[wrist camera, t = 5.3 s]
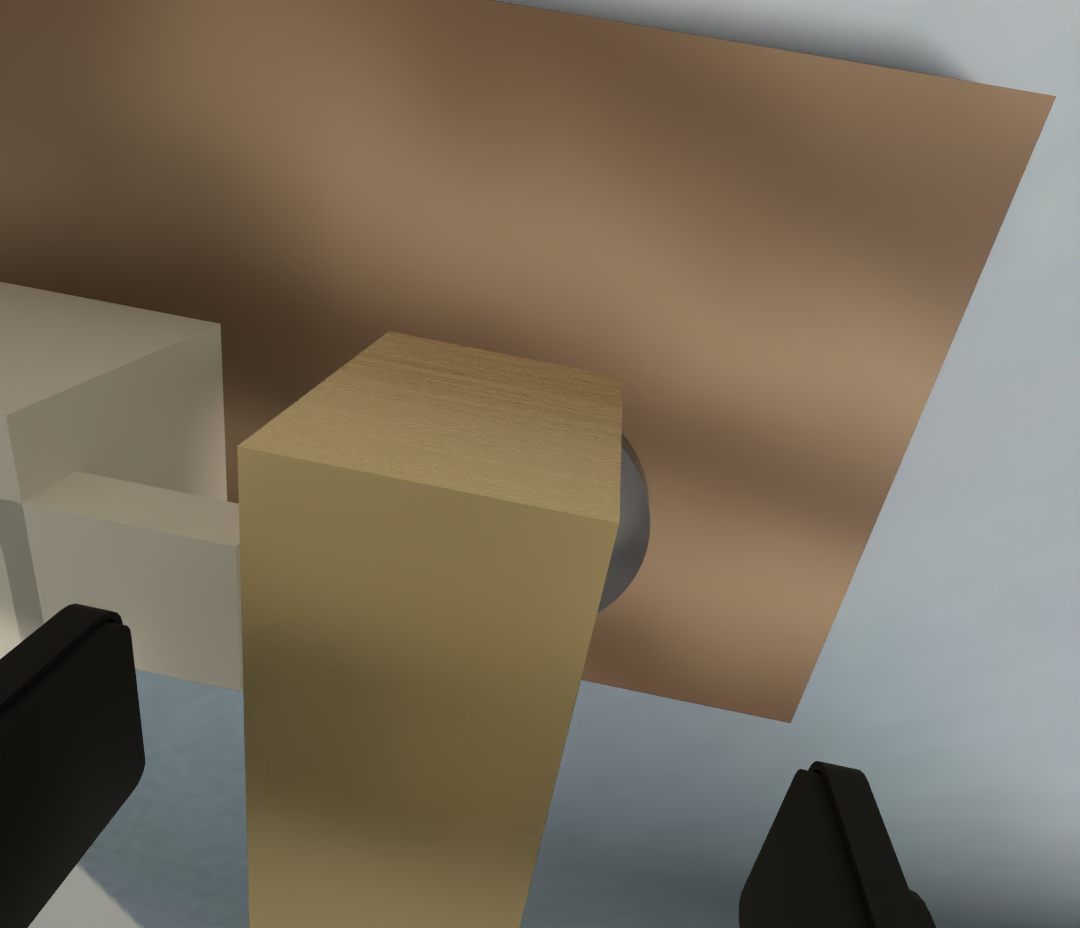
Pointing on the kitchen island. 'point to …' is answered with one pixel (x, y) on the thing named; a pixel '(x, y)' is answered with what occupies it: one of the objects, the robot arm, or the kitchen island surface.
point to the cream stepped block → (118, 480)
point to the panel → (543, 254)
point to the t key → (422, 627)
